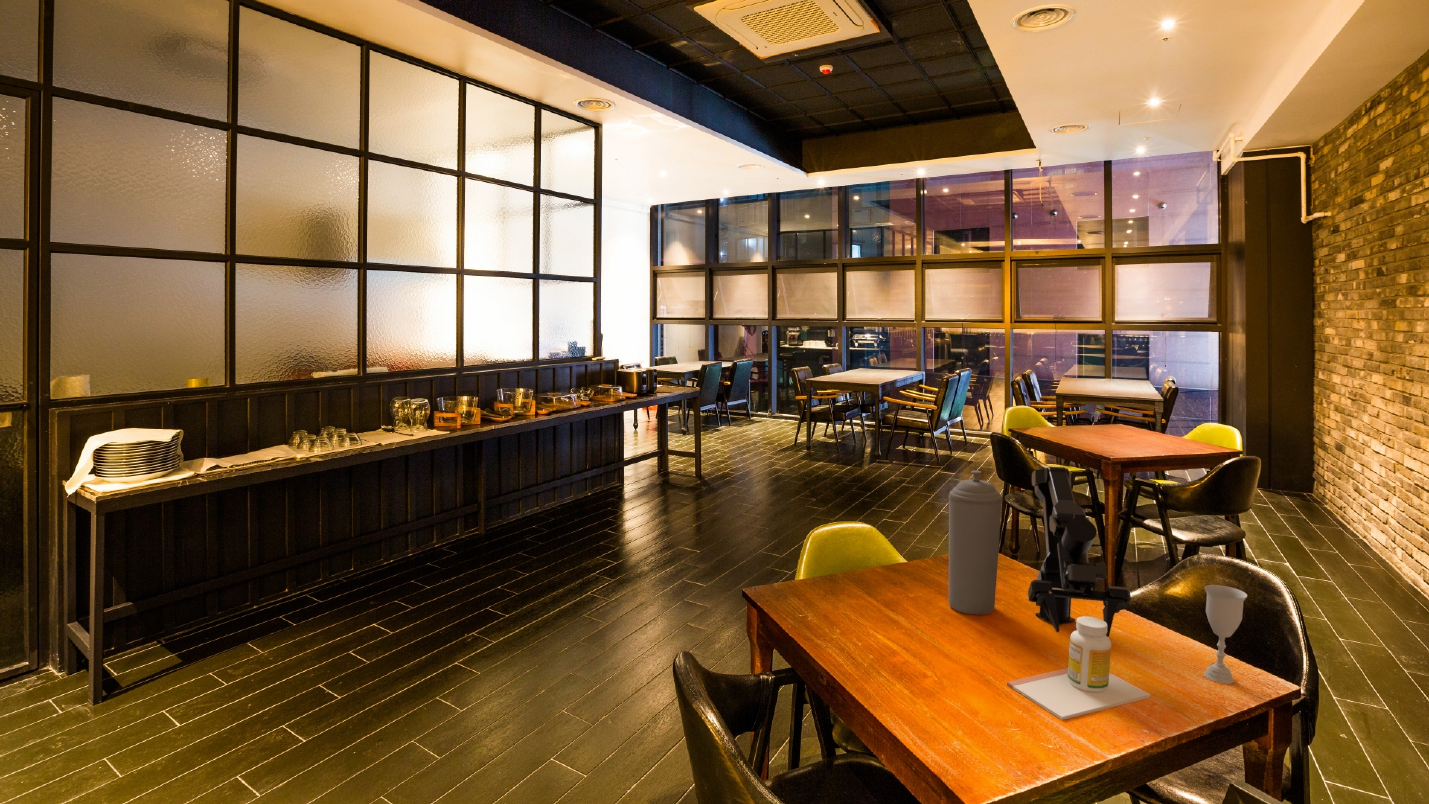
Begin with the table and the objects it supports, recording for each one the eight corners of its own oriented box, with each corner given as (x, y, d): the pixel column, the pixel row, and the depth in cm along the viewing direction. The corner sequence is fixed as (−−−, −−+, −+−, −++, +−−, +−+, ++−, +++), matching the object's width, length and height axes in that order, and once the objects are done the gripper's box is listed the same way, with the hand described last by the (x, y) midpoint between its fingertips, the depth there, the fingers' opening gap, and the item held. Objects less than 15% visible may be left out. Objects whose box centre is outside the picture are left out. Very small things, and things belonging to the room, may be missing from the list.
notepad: (1090, 665, 151) (1090, 662, 150) (1149, 697, 138) (1150, 694, 138) (1006, 684, 143) (1006, 681, 143) (1061, 720, 130) (1061, 716, 130)
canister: (946, 615, 177) (951, 475, 173) (943, 596, 189) (947, 464, 185) (1002, 619, 174) (1007, 477, 170) (994, 600, 186) (999, 467, 182)
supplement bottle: (1063, 685, 141) (1066, 622, 140) (1072, 671, 147) (1076, 611, 145) (1104, 697, 137) (1108, 632, 135) (1112, 682, 142) (1116, 620, 141)
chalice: (1189, 669, 149) (1195, 585, 147) (1220, 667, 149) (1227, 584, 147) (1217, 687, 142) (1223, 599, 140) (1249, 685, 142) (1256, 597, 140)
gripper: (1032, 543, 152) (1039, 614, 143) (1131, 550, 147) (1144, 624, 138) (1025, 566, 161) (1031, 634, 152) (1118, 573, 156) (1130, 645, 147)
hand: (1082, 634), depth 147 cm, fingers open, 9 cm apart
